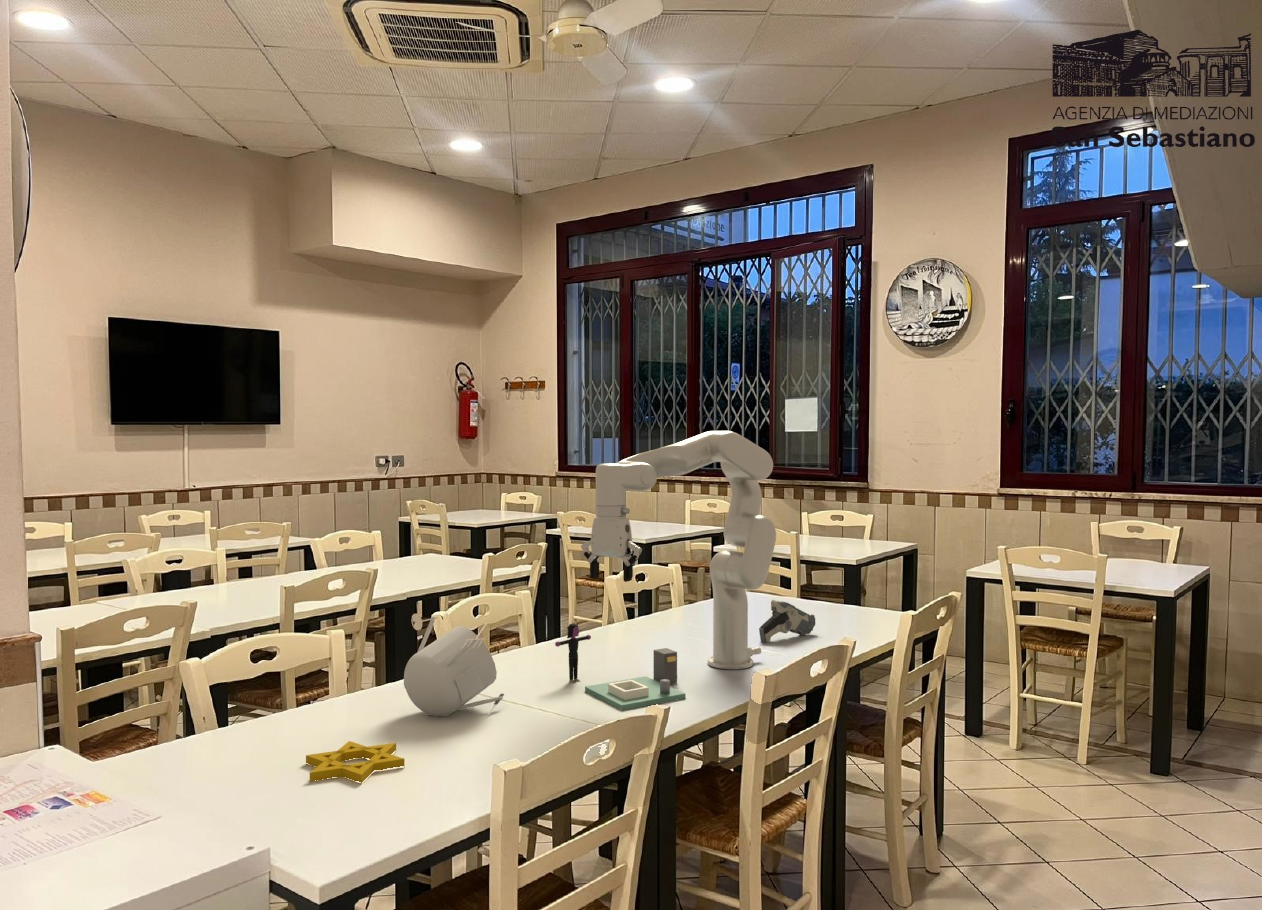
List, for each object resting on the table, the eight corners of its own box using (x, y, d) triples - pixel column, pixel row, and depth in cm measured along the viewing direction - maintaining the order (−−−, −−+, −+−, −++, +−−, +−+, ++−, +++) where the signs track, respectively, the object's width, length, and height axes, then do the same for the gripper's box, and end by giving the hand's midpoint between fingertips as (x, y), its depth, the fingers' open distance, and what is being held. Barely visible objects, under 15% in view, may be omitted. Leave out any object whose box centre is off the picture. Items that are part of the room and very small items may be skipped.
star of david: (420, 753, 183) (419, 742, 183) (387, 787, 166) (387, 775, 166) (325, 751, 186) (325, 740, 185) (284, 783, 168) (283, 771, 168)
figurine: (560, 686, 230) (560, 628, 229) (551, 683, 232) (550, 625, 232) (595, 677, 238) (595, 620, 238) (585, 674, 241) (585, 618, 241)
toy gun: (804, 662, 286) (819, 617, 289) (761, 641, 275) (777, 594, 278) (796, 659, 289) (811, 615, 292) (753, 638, 278) (769, 593, 281)
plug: (666, 678, 238) (666, 647, 238) (678, 683, 233) (678, 652, 233) (653, 680, 236) (653, 649, 236) (665, 685, 231) (665, 654, 231)
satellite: (368, 641, 207) (430, 670, 189) (438, 597, 219) (501, 620, 202) (399, 721, 215) (461, 756, 197) (464, 675, 227) (528, 703, 210)
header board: (646, 680, 235) (646, 664, 235) (685, 698, 220) (685, 681, 220) (585, 691, 226) (584, 674, 226) (621, 710, 210) (621, 692, 210)
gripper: (647, 512, 228) (648, 579, 229) (589, 509, 237) (590, 574, 237) (633, 514, 222) (633, 584, 222) (574, 512, 230) (574, 579, 231)
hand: (611, 579), depth 230 cm, fingers open, 9 cm apart
